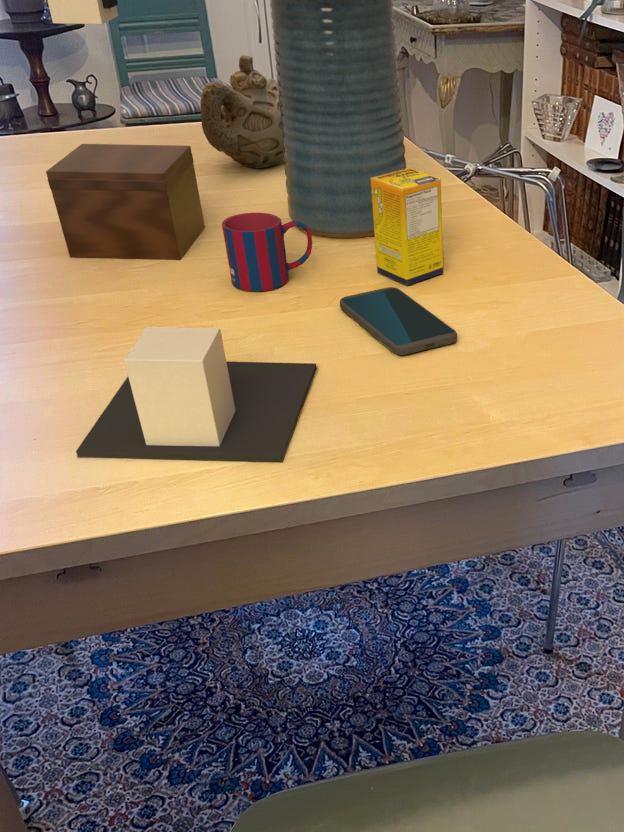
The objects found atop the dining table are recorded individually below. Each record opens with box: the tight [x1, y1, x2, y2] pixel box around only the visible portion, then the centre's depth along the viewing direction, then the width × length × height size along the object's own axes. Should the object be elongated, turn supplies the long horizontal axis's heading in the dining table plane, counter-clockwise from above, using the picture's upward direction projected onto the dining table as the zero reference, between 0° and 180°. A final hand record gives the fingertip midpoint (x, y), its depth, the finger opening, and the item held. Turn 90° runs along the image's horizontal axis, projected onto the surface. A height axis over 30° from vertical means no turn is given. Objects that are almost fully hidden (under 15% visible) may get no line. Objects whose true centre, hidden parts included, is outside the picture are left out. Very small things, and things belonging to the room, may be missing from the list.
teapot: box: [200, 54, 284, 169], centre depth 141 cm, size 21×12×15 cm, turn 159°
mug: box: [221, 212, 313, 293], centre depth 110 cm, size 7×10×7 cm
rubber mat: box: [75, 360, 318, 463], centre depth 88 cm, size 18×18×1 cm
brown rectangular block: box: [45, 143, 206, 261], centre depth 118 cm, size 14×12×10 cm
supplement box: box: [371, 167, 444, 287], centre depth 110 cm, size 6×6×11 cm
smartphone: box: [339, 286, 458, 356], centre depth 102 cm, size 8×15×1 cm, turn 31°
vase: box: [269, 0, 407, 239], centre depth 118 cm, size 16×16×32 cm
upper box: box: [123, 326, 235, 446], centre depth 82 cm, size 6×6×8 cm
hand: (83, 5), depth 104 cm, fingers closed on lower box, 5 cm apart
